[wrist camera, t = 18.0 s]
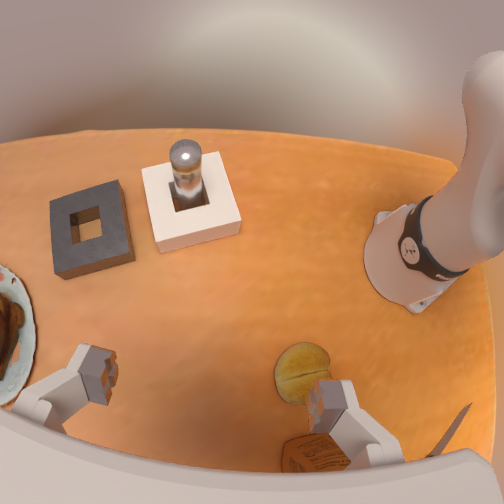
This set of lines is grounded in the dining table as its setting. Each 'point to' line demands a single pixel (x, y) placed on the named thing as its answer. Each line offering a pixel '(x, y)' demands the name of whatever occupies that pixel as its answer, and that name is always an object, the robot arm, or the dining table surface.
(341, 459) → the coffee package
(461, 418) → the kitchen knife
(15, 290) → the food on plate
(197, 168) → the shiny cylindrical peg
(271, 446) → the dining table surface
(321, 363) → the bread roll
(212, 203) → the rack block
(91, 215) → the socket block
